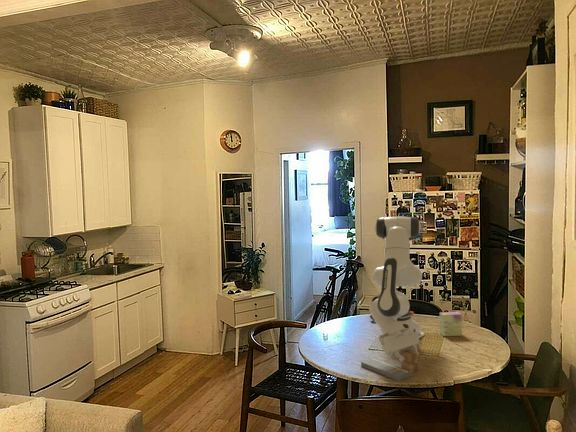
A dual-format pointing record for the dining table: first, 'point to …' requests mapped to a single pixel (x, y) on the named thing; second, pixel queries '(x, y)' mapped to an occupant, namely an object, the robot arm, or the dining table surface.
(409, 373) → the board
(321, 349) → the dining table surface
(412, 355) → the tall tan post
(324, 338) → the dining table surface
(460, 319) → the box
